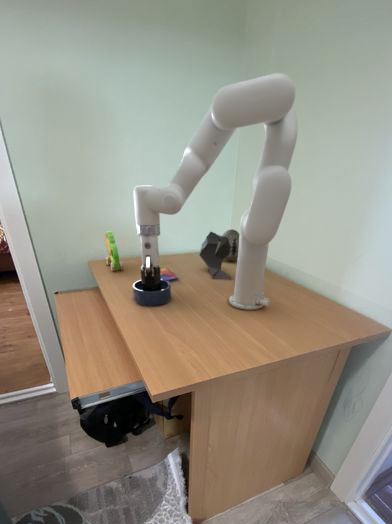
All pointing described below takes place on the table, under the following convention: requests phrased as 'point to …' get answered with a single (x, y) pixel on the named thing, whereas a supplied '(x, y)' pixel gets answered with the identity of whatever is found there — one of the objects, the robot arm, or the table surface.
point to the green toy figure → (112, 253)
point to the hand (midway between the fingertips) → (151, 282)
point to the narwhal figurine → (215, 254)
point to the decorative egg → (232, 244)
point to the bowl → (152, 294)
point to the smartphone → (167, 274)
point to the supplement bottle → (157, 279)
